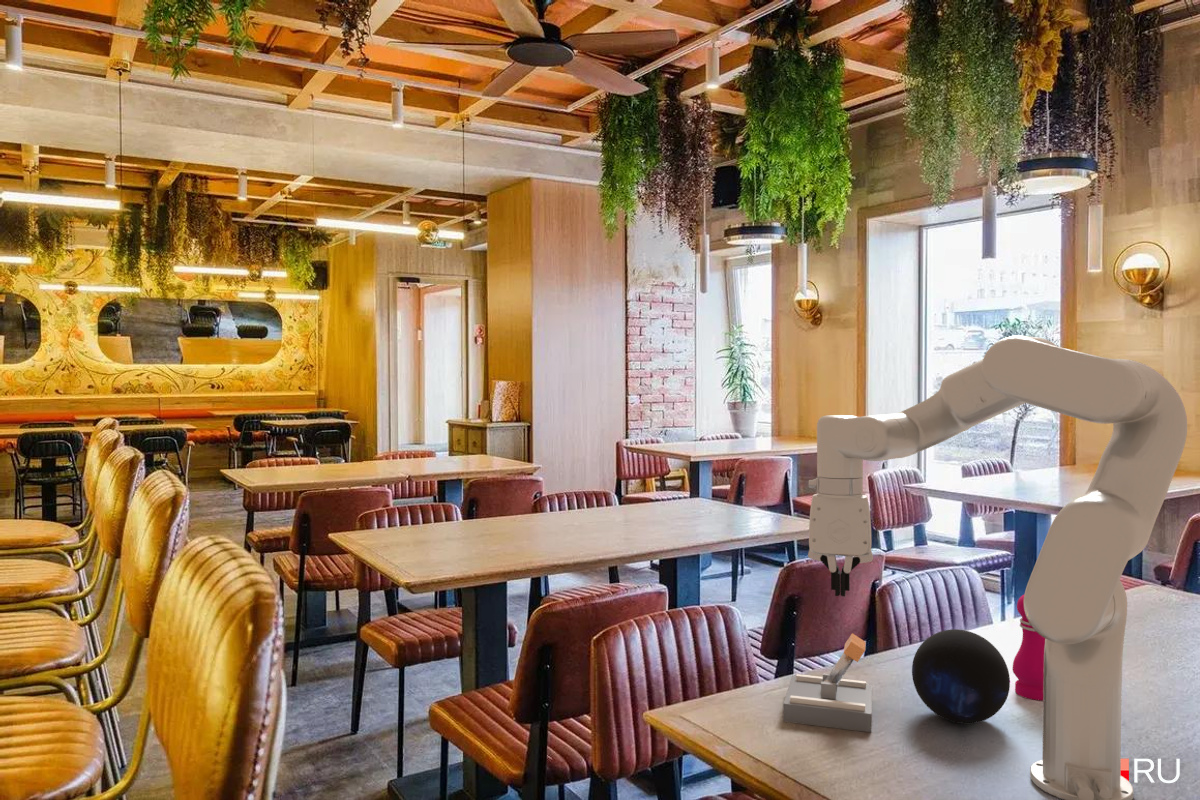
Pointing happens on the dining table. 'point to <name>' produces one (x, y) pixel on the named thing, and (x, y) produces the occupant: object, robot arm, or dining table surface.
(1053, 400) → the robot arm
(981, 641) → the decorative sphere
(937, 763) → the dining table surface
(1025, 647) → the pepper mill
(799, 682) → the switch panel
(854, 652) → the lever
